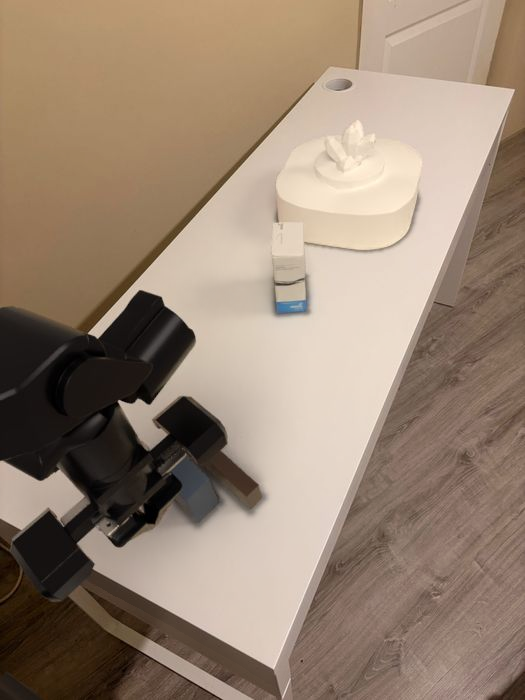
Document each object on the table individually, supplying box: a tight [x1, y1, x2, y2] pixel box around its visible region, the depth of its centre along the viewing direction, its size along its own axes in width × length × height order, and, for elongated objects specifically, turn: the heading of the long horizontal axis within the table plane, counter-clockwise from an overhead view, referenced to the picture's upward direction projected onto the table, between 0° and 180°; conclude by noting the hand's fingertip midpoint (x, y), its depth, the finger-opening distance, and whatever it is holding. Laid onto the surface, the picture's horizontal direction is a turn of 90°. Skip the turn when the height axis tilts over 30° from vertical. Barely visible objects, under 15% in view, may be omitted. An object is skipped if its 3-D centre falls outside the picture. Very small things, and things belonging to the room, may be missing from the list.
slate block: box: [171, 456, 219, 524], centre depth 59 cm, size 7×5×8 cm
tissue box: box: [275, 118, 424, 251], centre depth 90 cm, size 25×25×16 cm
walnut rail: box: [202, 450, 262, 511], centre depth 62 cm, size 2×12×4 cm, turn 46°
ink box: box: [270, 221, 307, 314], centre depth 78 cm, size 8×5×12 cm, turn 179°
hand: (152, 522), depth 48 cm, fingers closed
